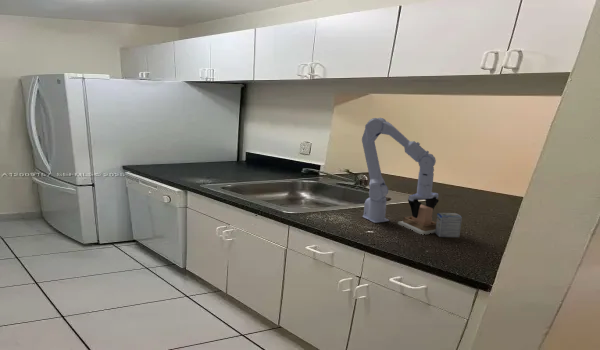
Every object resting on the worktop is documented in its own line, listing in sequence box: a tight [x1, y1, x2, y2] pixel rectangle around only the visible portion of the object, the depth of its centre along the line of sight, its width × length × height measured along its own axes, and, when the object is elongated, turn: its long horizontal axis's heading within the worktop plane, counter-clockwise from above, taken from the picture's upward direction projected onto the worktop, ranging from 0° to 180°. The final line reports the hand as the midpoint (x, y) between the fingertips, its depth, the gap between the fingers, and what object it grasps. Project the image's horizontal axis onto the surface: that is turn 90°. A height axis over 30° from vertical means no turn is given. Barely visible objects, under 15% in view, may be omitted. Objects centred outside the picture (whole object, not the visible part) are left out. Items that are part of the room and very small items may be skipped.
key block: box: [412, 204, 434, 225], centre depth 145 cm, size 4×7×8 cm, turn 27°
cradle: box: [397, 215, 437, 236], centre depth 146 cm, size 14×12×3 cm
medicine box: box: [434, 212, 463, 238], centre depth 137 cm, size 8×4×9 cm, turn 92°
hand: (421, 216), depth 145 cm, fingers open, 7 cm apart
